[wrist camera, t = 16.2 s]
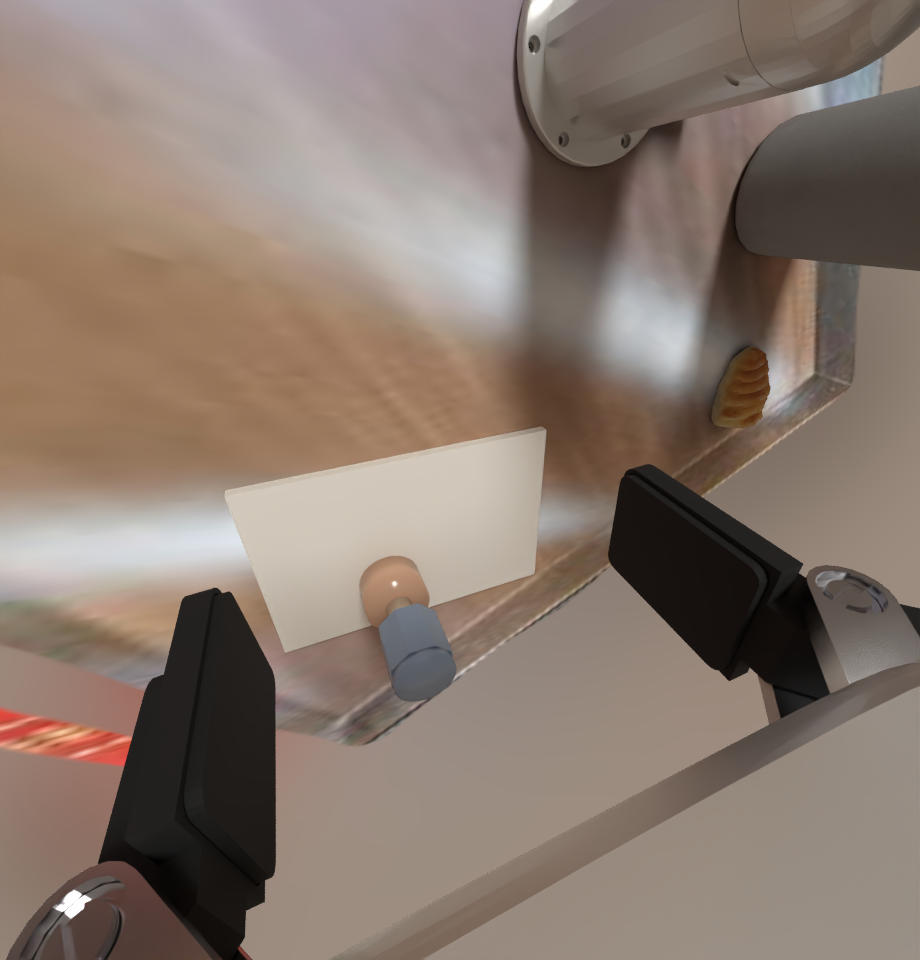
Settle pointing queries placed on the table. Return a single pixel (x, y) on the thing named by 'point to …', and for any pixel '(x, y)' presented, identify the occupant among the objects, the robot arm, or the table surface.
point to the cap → (416, 653)
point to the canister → (838, 185)
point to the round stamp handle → (391, 587)
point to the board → (391, 529)
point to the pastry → (742, 390)
